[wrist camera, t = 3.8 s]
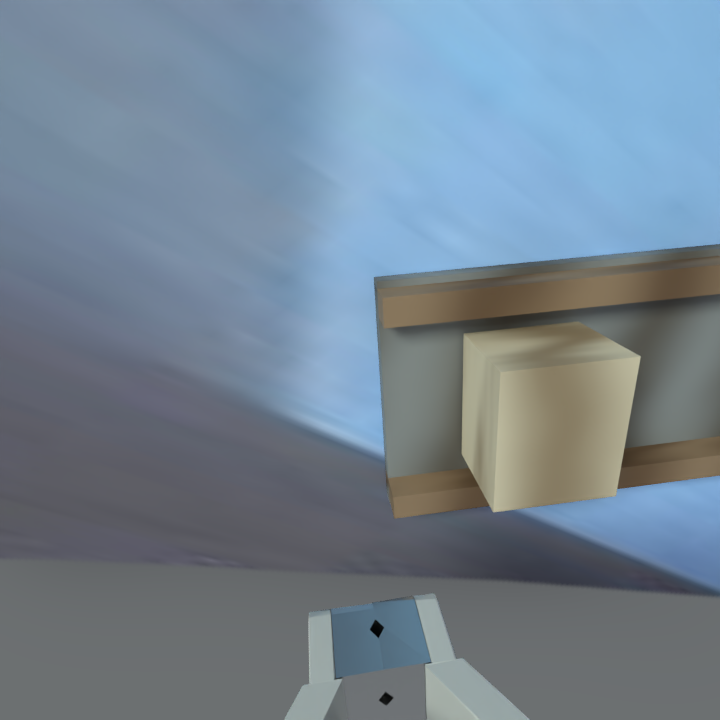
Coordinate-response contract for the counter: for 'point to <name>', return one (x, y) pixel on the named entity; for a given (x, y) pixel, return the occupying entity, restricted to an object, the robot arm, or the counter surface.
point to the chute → (544, 307)
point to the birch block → (545, 413)
